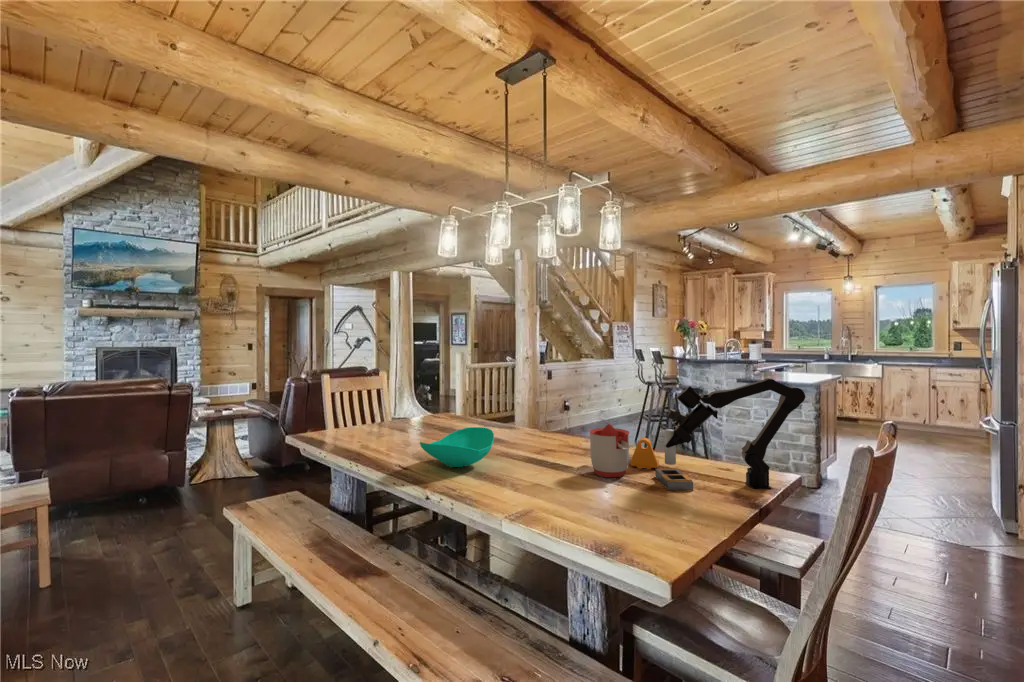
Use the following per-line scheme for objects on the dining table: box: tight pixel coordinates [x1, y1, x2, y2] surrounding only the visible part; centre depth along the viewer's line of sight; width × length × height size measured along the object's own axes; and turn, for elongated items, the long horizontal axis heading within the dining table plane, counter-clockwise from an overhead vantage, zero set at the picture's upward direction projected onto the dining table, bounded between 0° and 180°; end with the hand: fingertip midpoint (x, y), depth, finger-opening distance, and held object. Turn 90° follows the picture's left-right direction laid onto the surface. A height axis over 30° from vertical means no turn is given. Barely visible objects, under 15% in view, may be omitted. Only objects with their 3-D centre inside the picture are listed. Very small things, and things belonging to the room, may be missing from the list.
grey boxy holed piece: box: [654, 468, 694, 491], centre depth 175 cm, size 9×17×3 cm, turn 177°
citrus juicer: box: [588, 423, 630, 478], centre depth 187 cm, size 16×17×20 cm
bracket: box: [630, 437, 660, 470], centre depth 198 cm, size 11×7×12 cm, turn 68°
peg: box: [663, 428, 677, 466], centre depth 178 cm, size 4×4×12 cm
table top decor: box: [419, 426, 495, 468], centre depth 203 cm, size 40×28×13 cm
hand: (666, 445), depth 179 cm, fingers closed on peg, 4 cm apart
